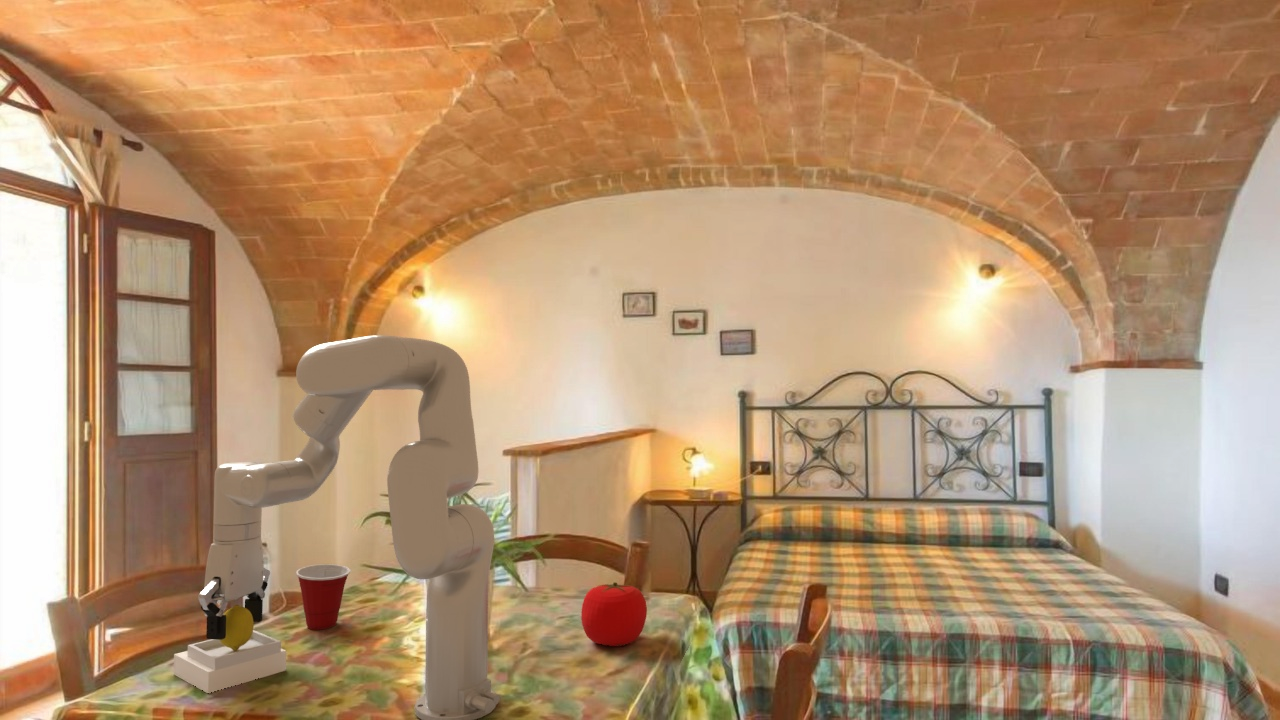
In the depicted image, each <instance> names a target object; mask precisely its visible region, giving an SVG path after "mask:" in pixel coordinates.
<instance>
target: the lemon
mask: <svg viewBox="0 0 1280 720" xmlns="http://www.w3.org/2000/svg"><path fill="white" fill-rule="evenodd" d="M223 615H226V637H225V638H224V639H222V640H220V641H221V643H222V644H223V645H224V646H226V647H229V648H231V649H232V650H234V651H236V650H238V649H239V648H240V647H241V646H242V645H244V644H245V643H247V642H248V640H249V639H250V638H251V636H252V633H253V630H254V626H255V625H254V623H255V622H253V617H252V614H251V612H250V611H249V610H248V609H246V608H245V606H240V605H239V604H234V605H233V606H232V607H231V608H228V609H226V610H225V611H224V613H223Z"/></svg>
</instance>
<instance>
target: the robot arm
mask: <svg viewBox="0 0 1280 720" xmlns="http://www.w3.org/2000/svg"><path fill="white" fill-rule="evenodd" d="M295 375H296V376H295V377H296V381H297V384H298V386H299V388H301V389H302V391H303V392H304V393H306V394H305V395H304V396H303V398H302V400H301V401H300V402H299V404H297V406H296V407H295V409H294V411H293V414H292V415H293V416H292V417H293V421H294V423H295V425H296V426H297V427H298V429H299V430H300V431H301V432H302V433H304V435H306V436H308V437H309V439H308V441H307V443H306V445H305V446H304V448H302V450H301V451H300V453H299V454H298V455H297V457H295V459H294V460H293V459H291V460H282V461H275V462H268V463H257V462H252V461H237V462H227V463H221V464H219V465H218V466H217V467H216V469H215V472H214V486H213V488H214V491H213V492H214V493H213V494H214V495H213V533H212V535H213V536H212V537H213V539H212V543H210V547H209V550H208V555H207V559H206V566H205V572H204V573H205V575H204V585H203V587H204V589H202V591H200V593H199V594H198V595H197V599H198V601H199V605H200V610H202V612H203V615H204V616H205V617H206V635H205V636H206V639H207V640H211V639H217V640H222V639H224V638H225V637H226V615H223V614H224V613H225V612H226V610H227V607H228V605H229V603H230V602H234V601H236V600H239V599H241V598H243V597H247V598H244V608H246V609H248V610H249V611H250V612H251V614H252V617H253V623H260V622H262V621H263V606H264V605H263V604H264V601H263V600H264V599H265V596H266V592H265V591H266V590H267V588H268V581H269V578H270V574H271V570H269V569H267V568H265V567H264V566H265V565H264V563H265V562H264V551H263V543H262V515H263V514H262V510H263V509H262V508H269V507H274V506H278V505H279V506H280V505H282V504H289V503H294V502H299V501H300V502H301V501H303V500H306V499H308V498H310V497H311V496H313V495H314V494H315V493H316V492H317V491H318V490H319V489H320V488H321V487H322V485H323V484H324V483H325V481H326V480H327V479H328V478H329V476H330V474H332V472H333V470H334V469H335V467H336V465H337V463H338V460H339V455H340V450H341V449H340V448H341V441H340V436H341V434H342V433H343V432H344V430H345V429H346V427H347V426H349V423H350V422H351V421H352V419H353V418H354V417H355V415H356V414H357V413H358V411H359V410H360V409H361V407H362V406H363V404H364V403H365V402H366V401H367V400H368V399H369V396H370V395H371V394H372V392H373V391H380V390H381V391H382V390H384V391H385V390H386V391H388V390H397V391H399V390H401V391H403V390H415V391H416V390H418V391H421V392H422V396H421V398H420V401H419V405H418V410H417V411H418V412H417V422H418V428H419V440H416V441H415V440H414V441H413V442H409V443H407V444H405V445H404V446H402V447H400V448H399V450H397V452H396V453H395V454H394V456H393V457H392V459H391V462H390V463H389V467H388V470H387V479H386V481H387V496H388V506H389V516H390V526H391V535H392V542H393V543H392V544H393V550H394V555H395V557H396V560H397V563H398V565H399V566H400V567H401V569H402V570H403V571H404V573H406V574H407V575H408V576H410V577H412V578H413V579H416V580H428V586H427V590H426V609H425V610H426V613H425V616H426V617H425V679H424V680H425V682H424V683H425V686H424V689H425V690H424V691H425V692H424V694H422V695H421V696H419V697H418V699H416V701H415V703H414V714H415V716H416V717H417V718H418V719H420V720H477V719H478V720H479V719H480V718H482V717H485V716H488V715H489V714H491V713H492V712H493V710H495V708H496V707H497V705H498V704H499V703H500V701H501V696H500V694H498V693H496V692H495V691H494V690H492V680H491V679H489V678H488V656H489V655H488V652H489V651H488V645H489V643H488V639H489V637H488V634H489V633H488V632H489V582H490V573H491V572H490V570H491V569H490V568H491V563H492V557H493V552H494V544H495V531H494V525H493V523H492V520H491V518H490V517H489V515H488V514H487V512H485V510H483V509H482V508H480V507H479V506H476V505H473V504H467V503H466V504H465V503H464V504H463V503H460V504H459V503H458V504H453V505H450V506H448V505H449V504H448V499H451V498H455V497H458V496H461V495H464V494H466V493H468V492H469V491H470V490H472V489H473V488H474V487H475V485H476V484H477V481H478V478H479V461H478V452H477V445H476V443H477V442H476V435H475V434H476V433H475V427H474V419H473V412H472V403H471V402H472V401H471V385H470V383H471V382H470V376H469V372H468V367H467V365H466V363H465V361H464V360H463V358H462V356H461V355H460V354H459V353H458V352H457V351H456V350H454V349H453V348H451V347H449V346H447V345H445V344H443V343H440V342H437V341H433V340H427V339H421V338H413V337H402V336H395V335H394V336H393V335H386V334H385V335H384V334H383V335H382V334H376V335H367V336H361V337H355V338H351V339H344V340H338V341H333V342H331V341H330V342H325V343H321V344H318V345H315V346H313V347H311V348H309V349H308V350H307V351H305V353H304V354H303V355H302V356H301V358H300V360H299V361H298V363H297V366H296V371H295ZM218 603H219V606H217V604H218Z"/></svg>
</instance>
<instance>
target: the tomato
mask: <svg viewBox="0 0 1280 720" xmlns="http://www.w3.org/2000/svg"><path fill="white" fill-rule="evenodd" d="M581 606H582V607H581V617H580V618H581V625H582V628H583V631H584V633H585V635H586V637H587V638H588V639H589V640H590V641H592V642H594V643H596V644H598V645H601V644H602V645H603V646H607V645H609V646H608V647H618V646H617V645H623V646H625V645H624V644H627V645H629V644H628V643H630V644H632V643H633V642H634V641H636V640H637V639H638V638H639V636H640V635H641V633H642V632H643V629H644V627H645V624H646V619H647V614H648V607H647V606H648V605H647V602H646V599H645V596H644V594H643V592H642V591H641V590H640V589H639V588H637V587H635V586H634V585H629V584H628V585H627V584H618V582H613V583H611V584H608V583H607V584H600V585H596V586H594V587H591V589H590V590H589V591H588V592H587V593H586V595H585V596H584V598H583V601H582V605H581ZM631 642H632V643H631Z"/></svg>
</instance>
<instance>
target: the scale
mask: <svg viewBox="0 0 1280 720" xmlns="http://www.w3.org/2000/svg"><path fill="white" fill-rule="evenodd" d="M285 671H287V650H286V649H283V648H282V641H281V640H279V639H276V638H274V637H271V636H269V635H267V634H264V633H261V632H260V631H257V630H254V629H253V633H252V636H251V638H250V639H249V640H248V642H247V643H245V644H244V645H242V646H241V647H240V648H239V649H238V650H236V651H234V650H232V649H231V648H229V647H226V646H224V645H223V644H222V643H221V641H220V640H217V639H207V640H204V641H200V642H195V643H191V644H187V650H185V651H182V652H178V653H174V654H173V675H174V676H176V677H178V678H179V679H181V680H183V681H185V682H186V683H187V684H189V685H192V686H193V685H194V687H195V686H196V687H195V688H197V689H198V690H201V691H202V690H203V691H202V692H205V693H206V694H207V693H209V694H211V692H212V693H215V692H214V691H216V692H218V691H217V690H219V691H222V690H225V689H224V688H226V689H228V688H227V687H229V688H231V686H232V687H236V686H238V685H242V684H245V683H246V684H247V683H248V682H252V681H256V680H259V679H261V678H265V677H269V676H272V675H275V674H279V673H281V672H285ZM258 678H259V679H258ZM255 679H256V680H255ZM241 683H242V684H241ZM235 685H236V686H235ZM221 689H222V690H221Z"/></svg>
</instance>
